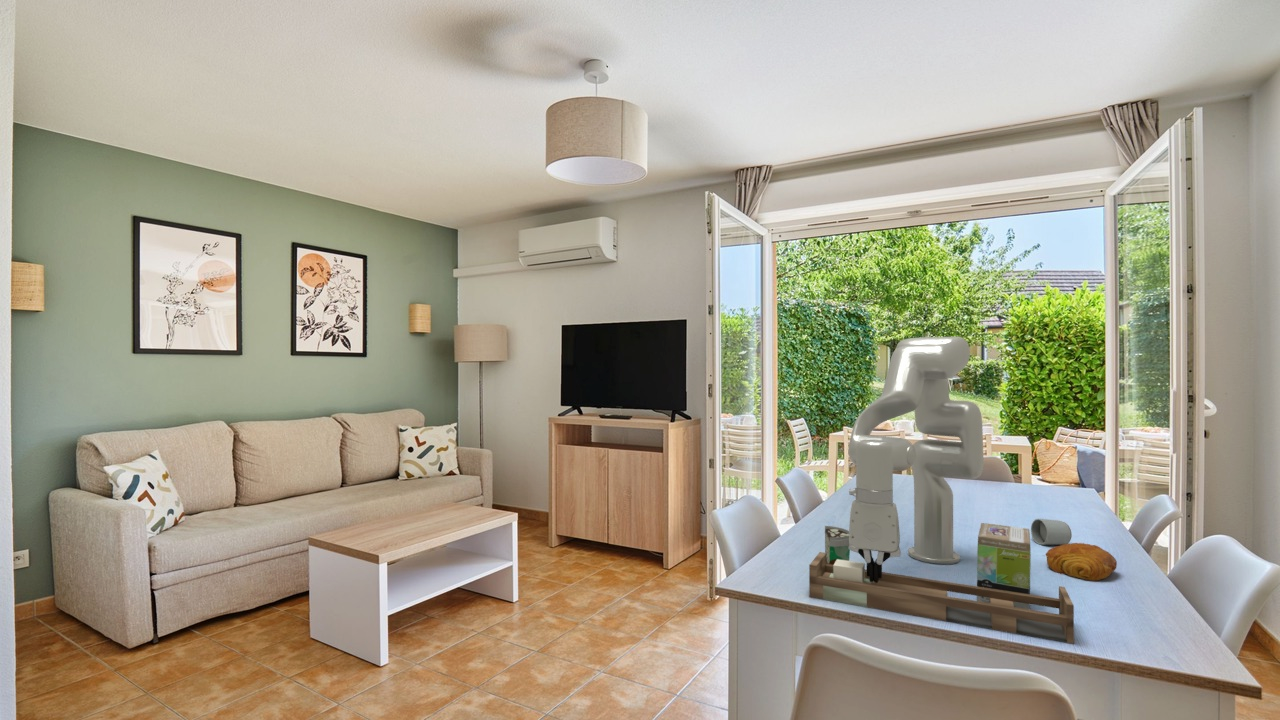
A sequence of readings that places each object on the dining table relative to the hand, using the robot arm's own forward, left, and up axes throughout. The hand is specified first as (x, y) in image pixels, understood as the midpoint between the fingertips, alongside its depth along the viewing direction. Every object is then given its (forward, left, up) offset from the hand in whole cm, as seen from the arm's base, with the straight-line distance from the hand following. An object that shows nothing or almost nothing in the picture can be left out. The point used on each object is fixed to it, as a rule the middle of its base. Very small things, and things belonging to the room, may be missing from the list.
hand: (874, 580), depth 132 cm
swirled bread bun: (-46, +43, -5) cm, 63 cm away
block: (0, -5, -1) cm, 5 cm away
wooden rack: (0, +11, -4) cm, 12 cm away
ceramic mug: (-72, +39, -5) cm, 82 cm away
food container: (-15, -10, -4) cm, 19 cm away
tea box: (-15, +25, -4) cm, 30 cm away
